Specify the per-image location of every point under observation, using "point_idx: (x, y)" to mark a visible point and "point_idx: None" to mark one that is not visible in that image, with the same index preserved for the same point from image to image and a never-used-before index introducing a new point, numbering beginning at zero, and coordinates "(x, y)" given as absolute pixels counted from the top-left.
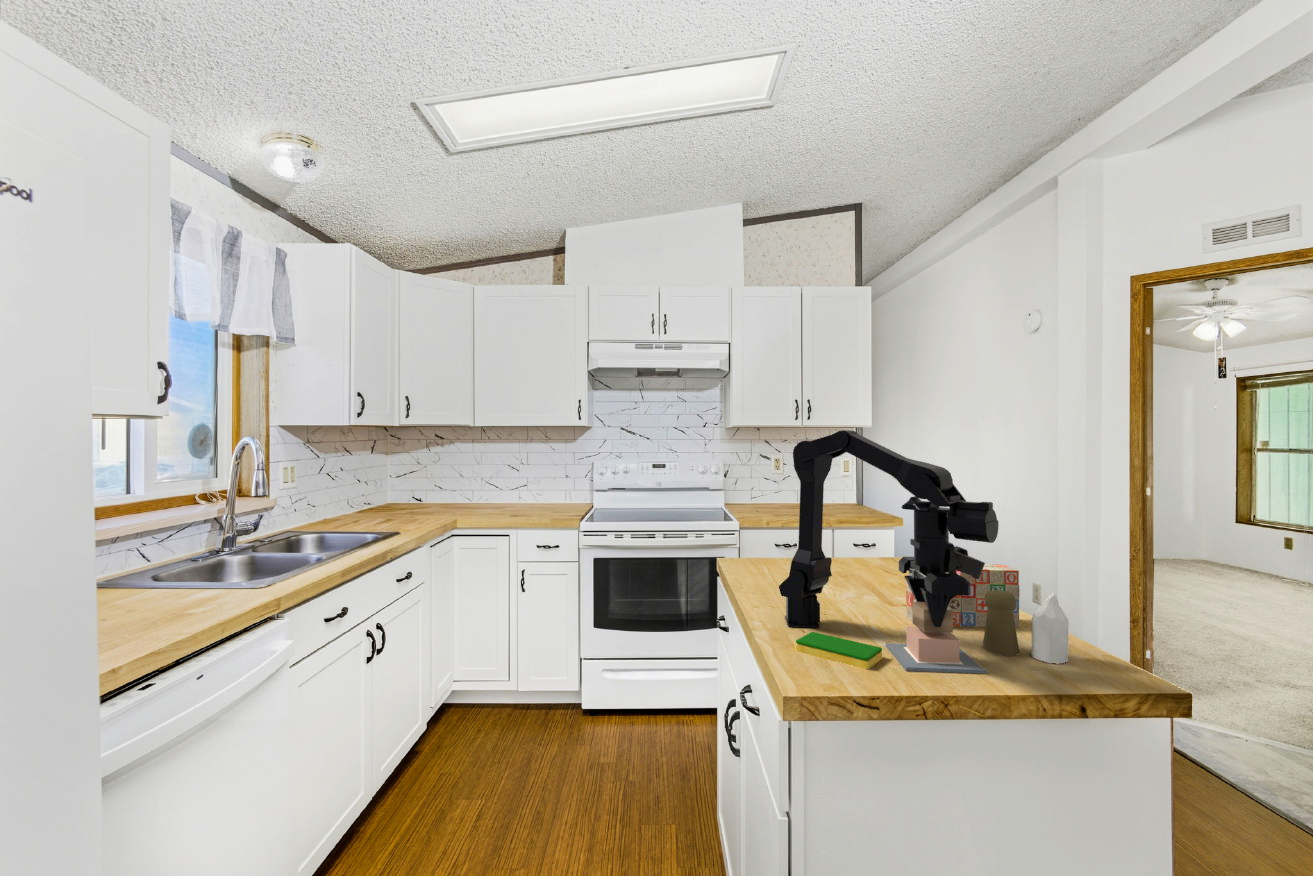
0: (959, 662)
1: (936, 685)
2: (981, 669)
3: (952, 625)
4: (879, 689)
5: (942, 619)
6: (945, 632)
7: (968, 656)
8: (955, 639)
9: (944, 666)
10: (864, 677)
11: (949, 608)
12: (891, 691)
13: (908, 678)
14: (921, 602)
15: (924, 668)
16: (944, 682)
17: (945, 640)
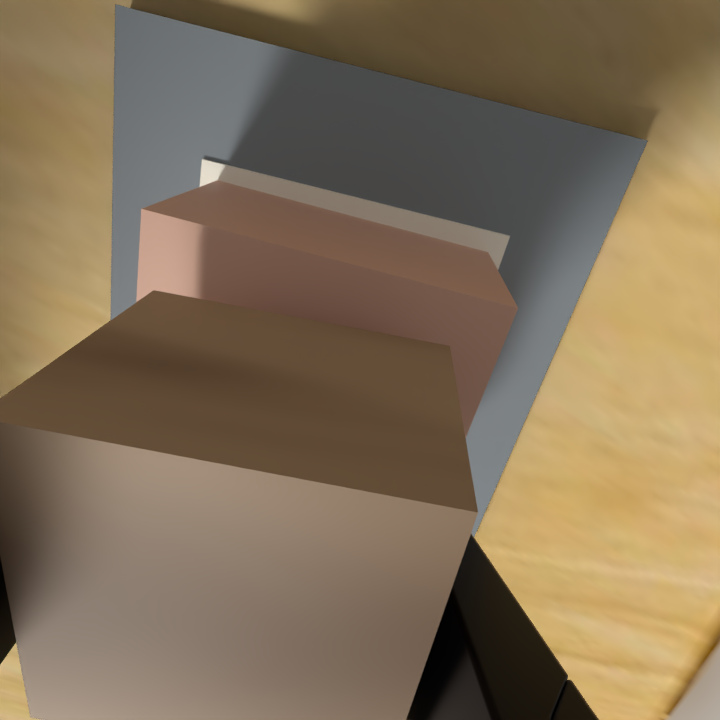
0: (487, 252)
1: (662, 514)
2: (628, 166)
3: (455, 383)
4: (606, 706)
5: (483, 566)
6: (294, 297)
7: (371, 79)
8: (495, 332)
9: (507, 375)
10: None
11: (388, 507)
12: (640, 684)
13: (546, 574)
14: (55, 659)
15: (496, 483)
16: (647, 461)
17: (473, 409)
